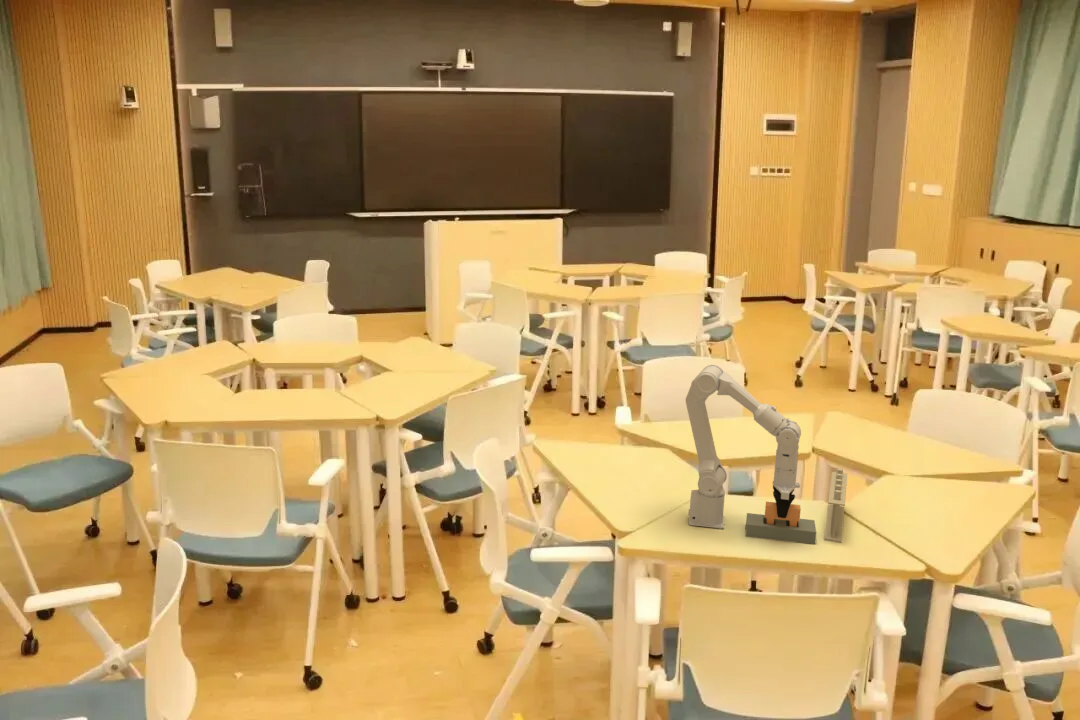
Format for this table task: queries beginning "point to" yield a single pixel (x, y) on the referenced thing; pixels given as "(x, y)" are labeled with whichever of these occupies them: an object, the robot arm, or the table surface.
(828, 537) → the test tube rack
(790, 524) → the orange c-shaped bracket
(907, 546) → the table surface
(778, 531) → the socket rail
